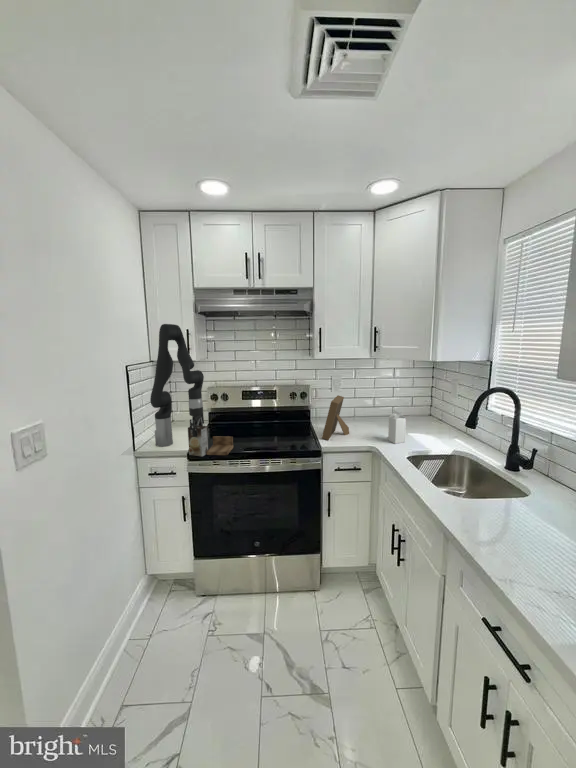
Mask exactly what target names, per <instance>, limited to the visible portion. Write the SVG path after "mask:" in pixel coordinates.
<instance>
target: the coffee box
mask: <svg viewBox="0 0 576 768" xmlns="http://www.w3.org/2000/svg"><path fill="white" fill-rule="evenodd" d="M187 438H188V440H187V441H188V454H189V456H197V457H204V456H206V455H207V450H208V449H209V443H208V441H209V440H208V439H209V438H208V425H207V426H206V425H203V426H201V425H198V427H197V437H193V432H192V430H190V426H189V427H187Z"/></svg>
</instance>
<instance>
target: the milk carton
mask: <svg viewBox="0 0 576 768" xmlns="http://www.w3.org/2000/svg"><path fill="white" fill-rule="evenodd" d="M406 423H407V418H406V417H405V416H404V415H403V414H402V411H401V412H400V411H398V410H395V409H394V410H393V412H392V413H391V414H390V415H389V416H388V436H387V437H388V439H387V441H389V442H390V443H392V444H395V445H396V444H402V443H403V444H404V443H406V429H407V428H406Z"/></svg>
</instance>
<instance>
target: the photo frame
mask: <svg viewBox="0 0 576 768" xmlns="http://www.w3.org/2000/svg"><path fill="white" fill-rule="evenodd" d="M344 399H345V397H344V396H342V395H336V396H335V397H334V399H332V400H331V401H330V405H329V409H328V413H327V416H326V421H325V424H324V428H323V432H322V436H321V439H323V440H326V441H329V440H330V439H331V437H332V436H333V435H334V434H335V432H336V430H337V426H338V423H339V426H340V428H341V431H342V432H343V435H344V436H348V435H350V429H349V428H350V427H349V426H348V425H347V423H345V421H344V420H343V418H341V416H340V413H341V411H342V407H343V402H344Z"/></svg>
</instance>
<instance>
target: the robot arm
mask: <svg viewBox="0 0 576 768" xmlns="http://www.w3.org/2000/svg"><path fill="white" fill-rule="evenodd" d="M158 332H159V333H158V349H157V351H158V352H157V360H156V365H155V374H154V380H153V386H152V389H151V394H150V405H151V406H152V408H154V409H158V408H159V409H158V410H157V412H155V413H154V422H155V430H154V441H155V446H157V445H158V446H157V447H168V446H171V445H173V443H174V441H173V440H174V439H173V427H172V410H173V409H172V406H173V405H172V403H173V402H172V397H171V396H172V395H171V394H170V392H169V391H166V390H164V387H165V385H166V384H167V382H168V381H169V379H170V377H171V376H172V374H173V369H174V360H173V357H172V356H171V354H170V351H169V341H174V342H175V343H176V344H177V352H176V358H177V361H178V363H179V365H180V367H181V370H182V376H183V380H184V382H185V383H186V384H188V385H192V384H193V386H192V387H190V388H188V391H187V392H188V393H187V395H188V412H189V413H188V414H189V416H191V419H189V427H190V430H192V432H193V437H197V427H198V425H201V426H204V424H205V419H204V402H203V397H202V390H203V384H204V379H205V377H204V374H203V372H202V370H197V369H196V370H192V369H194V367H195V363H194V361H193V358H192V357H191V354H190V353H189V350H188V348H187V344H186V343H187V342H186V341H185V338H184V334H183V331H182V328H181V327H180V326H179V325H177V324H171V323H163V324H161V325H160V328H159V331H158Z"/></svg>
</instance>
